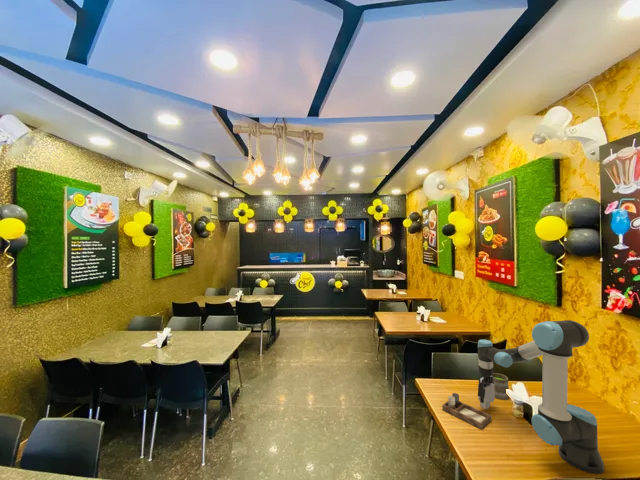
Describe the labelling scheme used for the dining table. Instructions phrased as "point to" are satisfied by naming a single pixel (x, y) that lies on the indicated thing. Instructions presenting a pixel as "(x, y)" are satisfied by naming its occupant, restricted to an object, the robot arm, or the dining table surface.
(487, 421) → the caddy
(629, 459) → the dining table surface
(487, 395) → the charger
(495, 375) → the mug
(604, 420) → the dining table surface
